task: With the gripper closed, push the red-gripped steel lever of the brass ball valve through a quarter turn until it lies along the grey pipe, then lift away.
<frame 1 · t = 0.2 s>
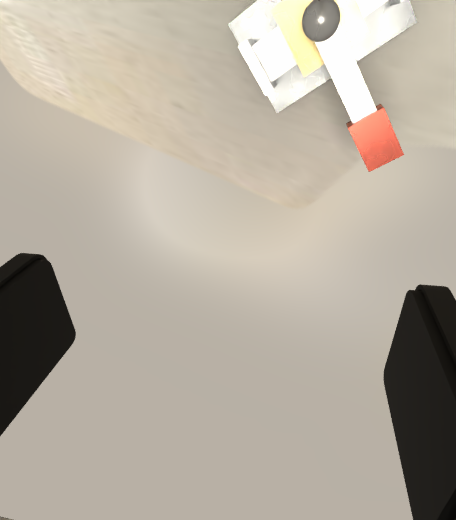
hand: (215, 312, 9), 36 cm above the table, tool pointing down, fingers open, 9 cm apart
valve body: (318, 23, 35), on the table
valve lever: (351, 87, 29), point 10 cm above the table, hinge at 0.0°
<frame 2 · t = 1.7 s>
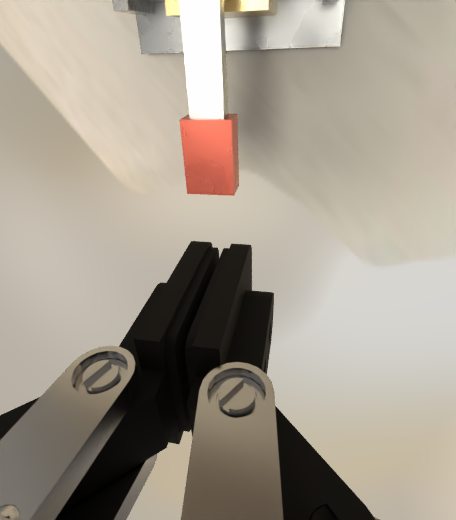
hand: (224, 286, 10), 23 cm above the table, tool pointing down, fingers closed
valve lever: (206, 66, 19), point 10 cm above the table, hinge at 0.0°
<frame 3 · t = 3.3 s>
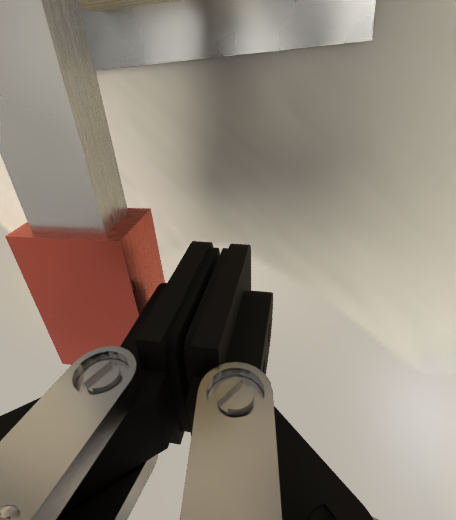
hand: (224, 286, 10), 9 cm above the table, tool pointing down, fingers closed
valve lever: (47, 114, 7), point 10 cm above the table, hinge at 2.0°, touching gripper
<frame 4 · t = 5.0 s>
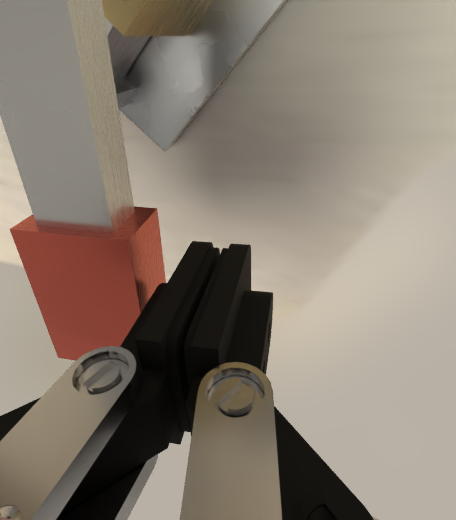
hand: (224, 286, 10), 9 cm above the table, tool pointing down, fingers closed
valve lever: (61, 109, 7), point 10 cm above the table, hinge at 48.1°, touching gripper
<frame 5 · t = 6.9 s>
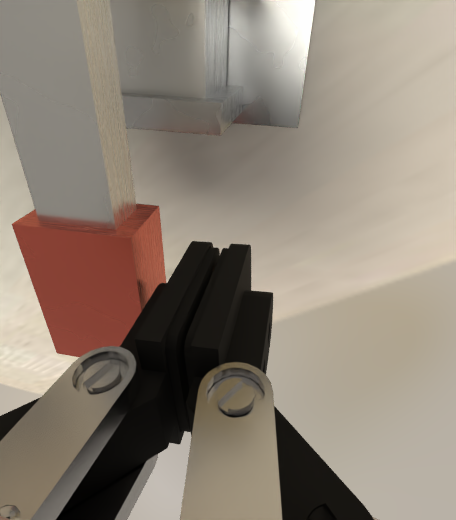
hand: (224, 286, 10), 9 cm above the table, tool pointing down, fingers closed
valve lever: (66, 105, 7), point 10 cm above the table, hinge at 89.3°, touching gripper
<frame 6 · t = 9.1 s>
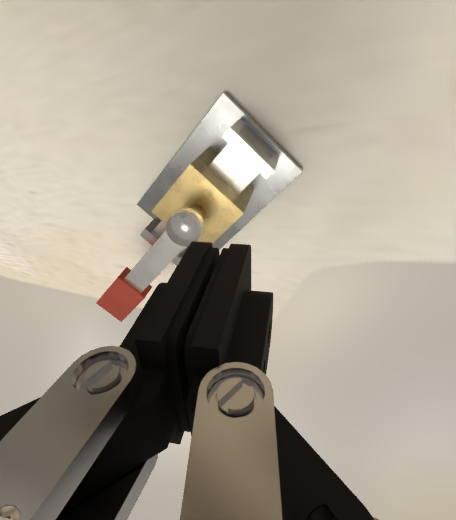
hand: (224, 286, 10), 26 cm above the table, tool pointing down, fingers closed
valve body: (215, 185, 37), on the table
valve lever: (149, 266, 31), point 10 cm above the table, hinge at 89.4°
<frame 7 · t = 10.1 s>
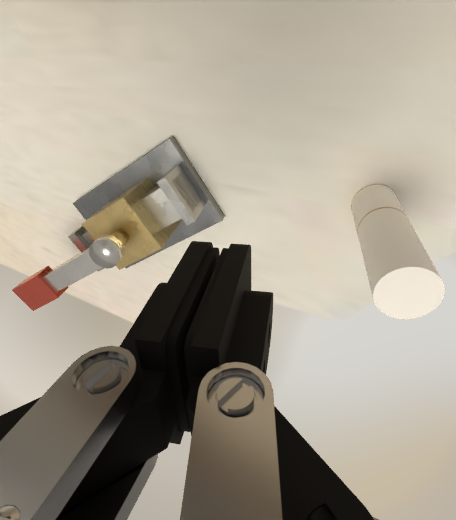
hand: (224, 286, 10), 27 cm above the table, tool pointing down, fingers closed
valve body: (149, 207, 41), on the table
tube: (373, 204, 36), on the table
valve lever: (69, 272, 35), point 10 cm above the table, hinge at 89.4°
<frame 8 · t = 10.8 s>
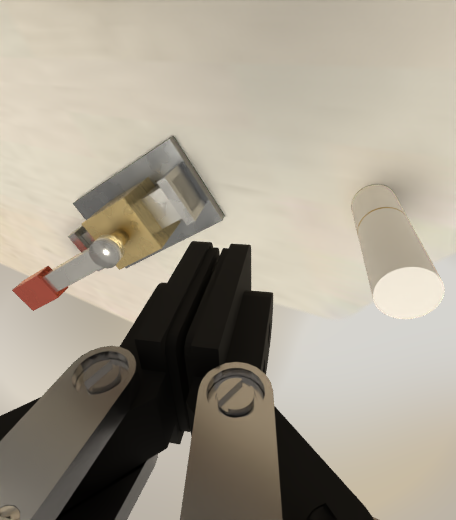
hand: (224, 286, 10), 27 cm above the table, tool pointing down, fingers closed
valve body: (149, 207, 41), on the table
tube: (373, 204, 36), on the table
valve lever: (68, 272, 35), point 10 cm above the table, hinge at 89.4°
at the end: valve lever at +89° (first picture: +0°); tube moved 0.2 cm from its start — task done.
